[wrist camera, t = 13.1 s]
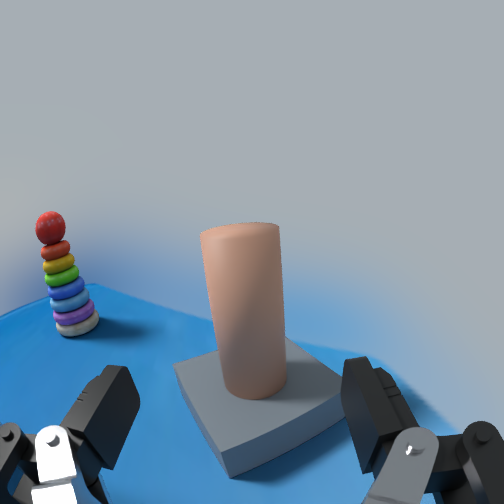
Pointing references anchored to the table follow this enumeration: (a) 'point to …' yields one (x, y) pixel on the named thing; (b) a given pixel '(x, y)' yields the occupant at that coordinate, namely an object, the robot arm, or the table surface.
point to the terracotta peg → (247, 306)
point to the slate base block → (260, 409)
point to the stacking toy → (64, 279)
